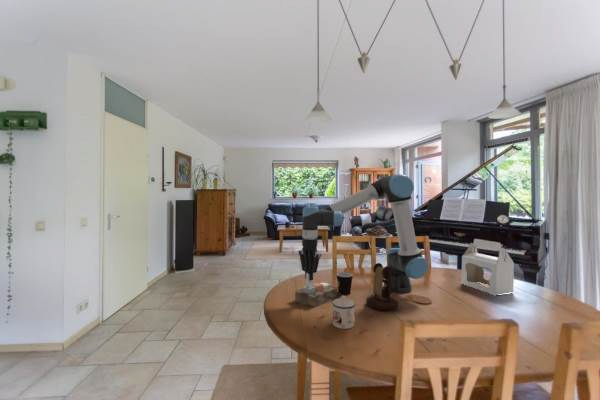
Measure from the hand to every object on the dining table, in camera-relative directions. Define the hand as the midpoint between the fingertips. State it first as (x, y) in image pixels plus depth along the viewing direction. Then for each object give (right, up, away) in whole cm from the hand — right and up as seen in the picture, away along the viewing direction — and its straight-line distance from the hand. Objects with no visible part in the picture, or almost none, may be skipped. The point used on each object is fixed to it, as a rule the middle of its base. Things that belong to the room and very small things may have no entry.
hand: (308, 286), depth 141 cm
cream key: (+8, -7, +9) cm, 14 cm away
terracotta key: (+4, -5, +5) cm, 8 cm away
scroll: (+35, -9, -3) cm, 36 cm away
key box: (+4, -8, +5) cm, 10 cm away
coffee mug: (+20, -8, +16) cm, 27 cm away
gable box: (+103, -9, +25) cm, 106 cm away
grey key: (0, -5, 0) cm, 6 cm away
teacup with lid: (+14, -9, -25) cm, 30 cm away
